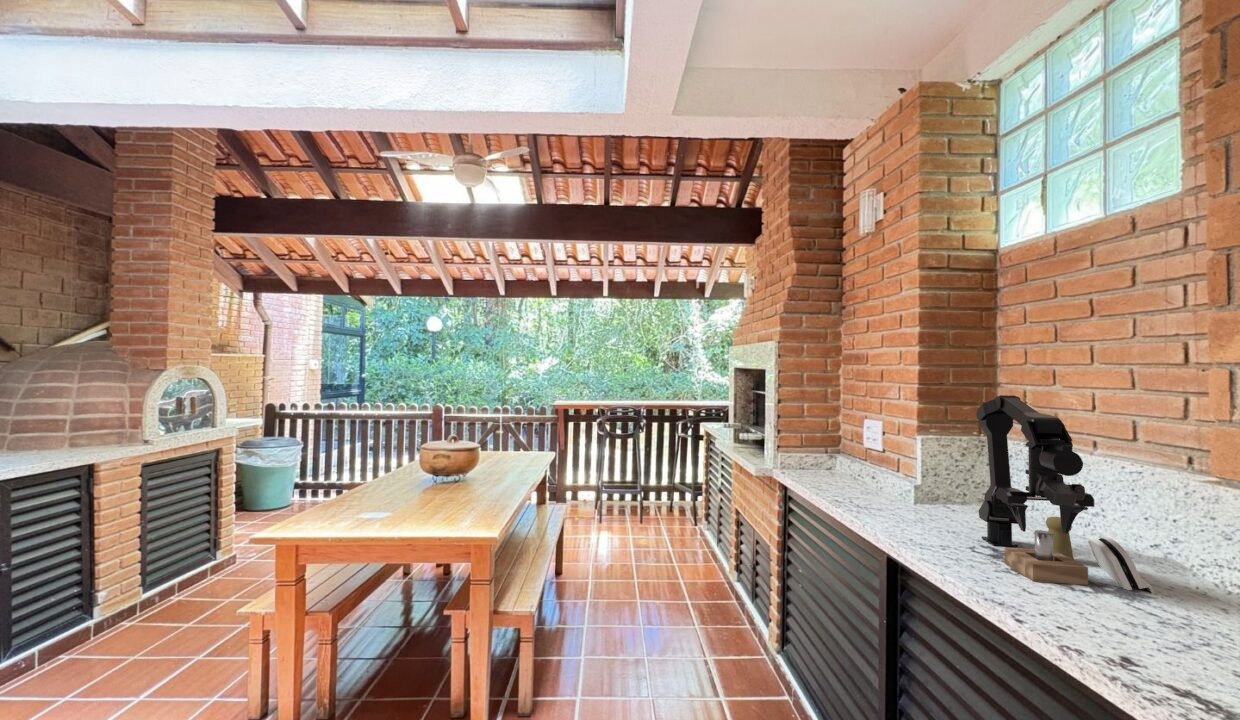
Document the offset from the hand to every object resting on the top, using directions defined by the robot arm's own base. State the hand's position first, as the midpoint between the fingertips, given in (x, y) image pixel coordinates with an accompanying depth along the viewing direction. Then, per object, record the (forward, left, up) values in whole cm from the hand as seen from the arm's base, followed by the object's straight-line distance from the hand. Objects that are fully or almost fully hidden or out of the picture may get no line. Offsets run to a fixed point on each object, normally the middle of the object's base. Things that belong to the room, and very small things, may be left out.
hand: (1044, 532), depth 127 cm
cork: (-11, +10, -10) cm, 18 cm away
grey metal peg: (0, 0, -10) cm, 10 cm away
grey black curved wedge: (0, +16, -11) cm, 19 cm away
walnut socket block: (0, 0, -10) cm, 10 cm away
